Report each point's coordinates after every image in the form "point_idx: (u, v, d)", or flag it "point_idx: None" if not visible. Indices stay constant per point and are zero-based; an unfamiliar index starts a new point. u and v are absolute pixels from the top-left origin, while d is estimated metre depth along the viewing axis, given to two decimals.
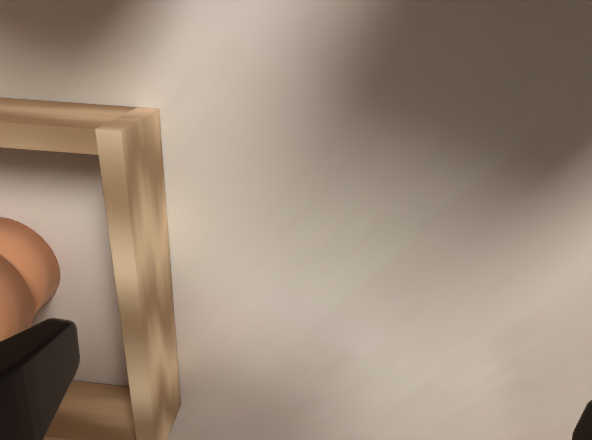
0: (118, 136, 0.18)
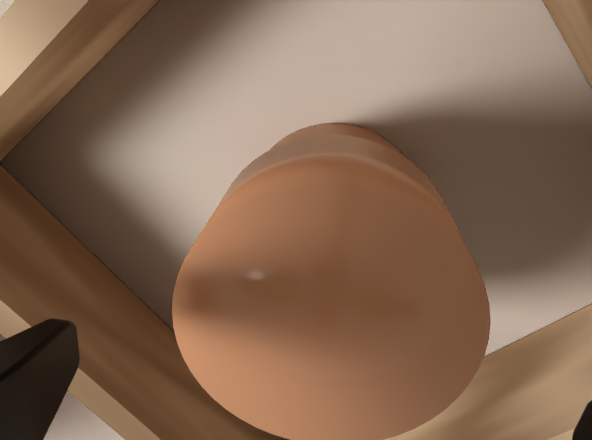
0: None
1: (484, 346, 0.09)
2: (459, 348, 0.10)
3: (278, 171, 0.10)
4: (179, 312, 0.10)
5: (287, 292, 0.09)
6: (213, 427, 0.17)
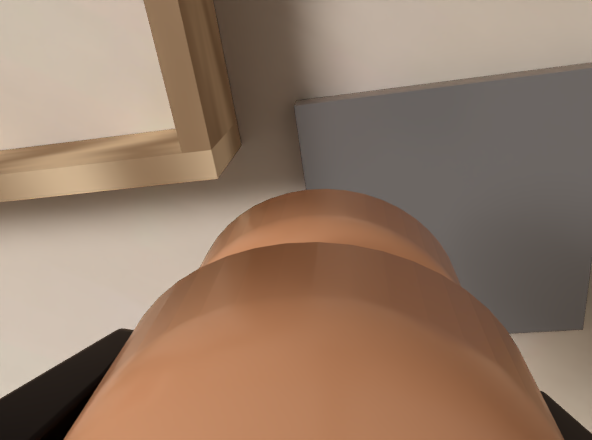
0: None
1: None
2: None
3: (191, 374, 0.04)
4: None
5: None
6: None
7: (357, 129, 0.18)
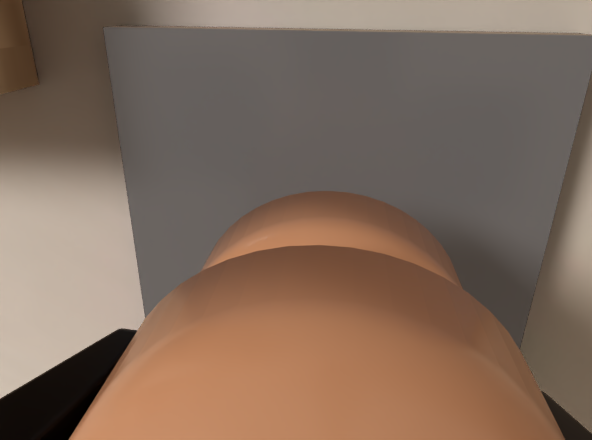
0: None
1: None
2: None
3: (194, 378, 0.04)
4: None
5: None
6: None
7: (201, 81, 0.11)
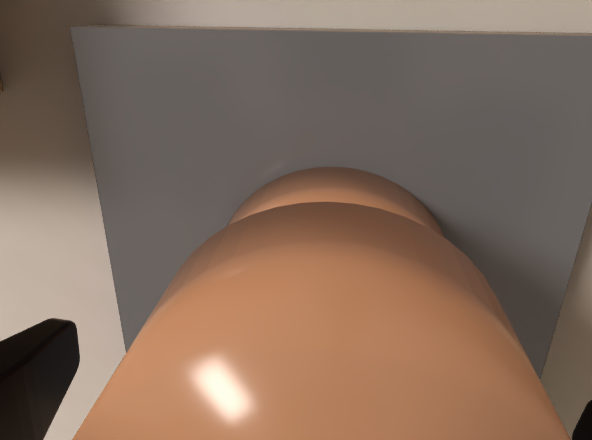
0: None
1: None
2: None
3: (234, 288, 0.06)
4: None
5: None
6: None
7: (182, 88, 0.10)
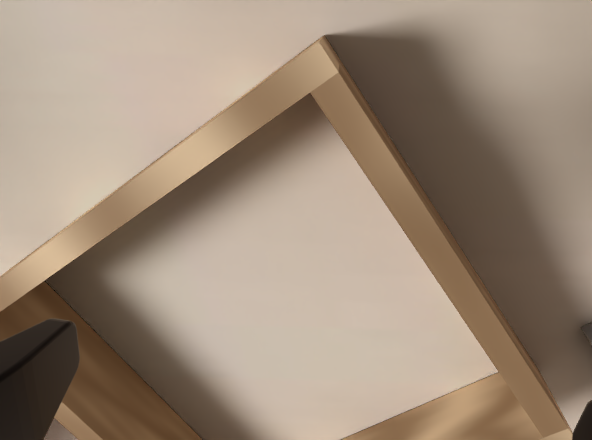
0: None
1: None
2: None
3: None
4: None
5: None
6: None
7: None
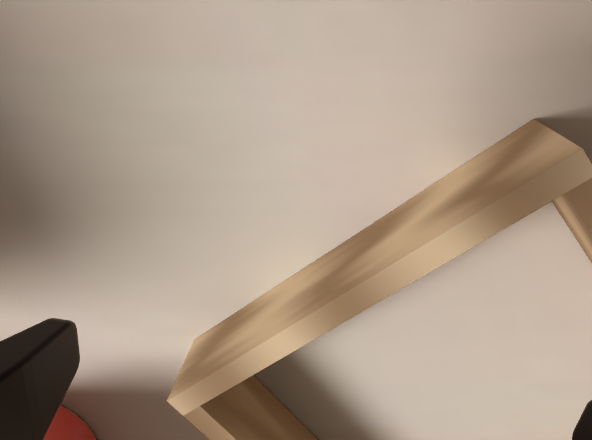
0: (172, 400, 0.20)
1: None
2: None
3: None
4: None
5: None
6: None
7: None
